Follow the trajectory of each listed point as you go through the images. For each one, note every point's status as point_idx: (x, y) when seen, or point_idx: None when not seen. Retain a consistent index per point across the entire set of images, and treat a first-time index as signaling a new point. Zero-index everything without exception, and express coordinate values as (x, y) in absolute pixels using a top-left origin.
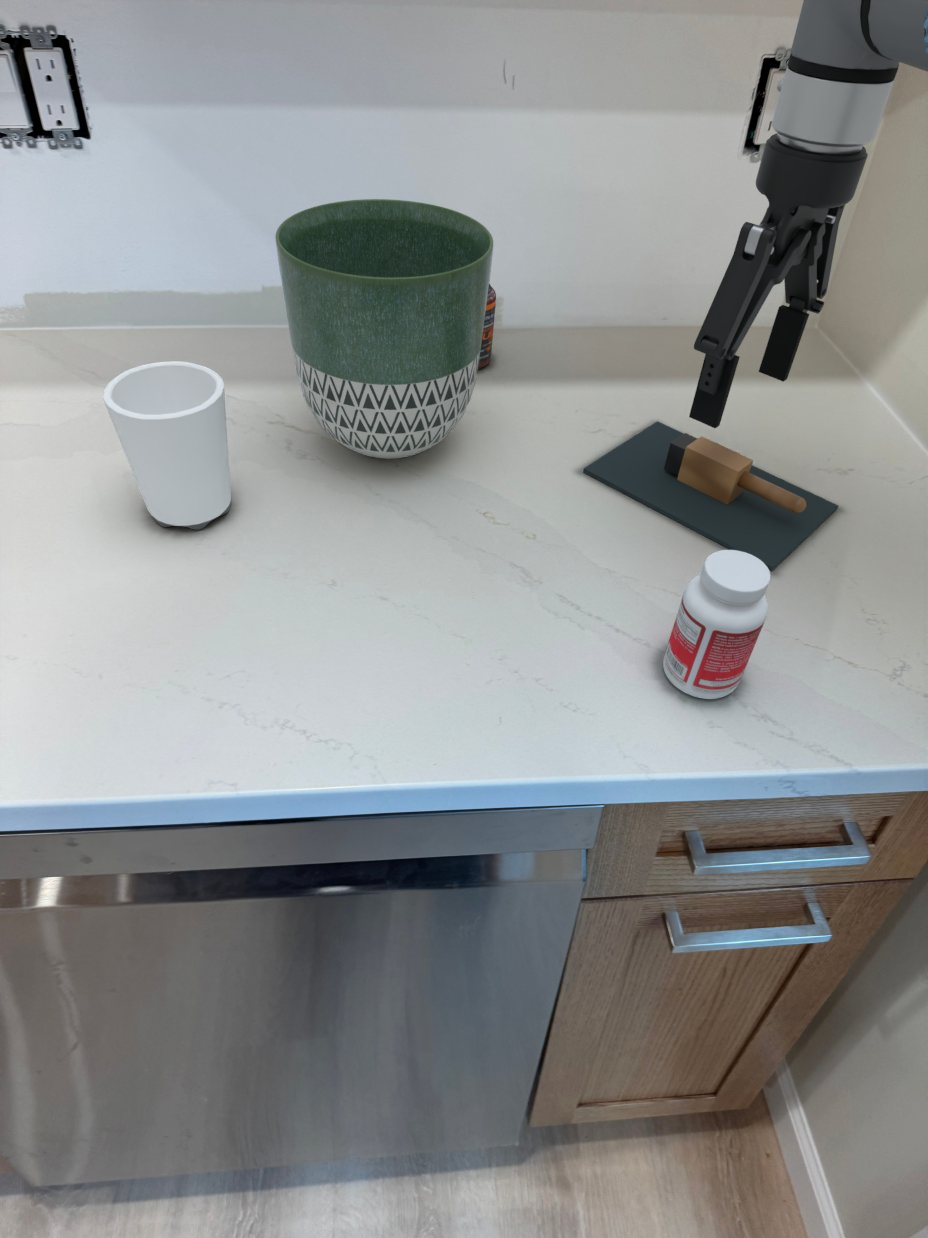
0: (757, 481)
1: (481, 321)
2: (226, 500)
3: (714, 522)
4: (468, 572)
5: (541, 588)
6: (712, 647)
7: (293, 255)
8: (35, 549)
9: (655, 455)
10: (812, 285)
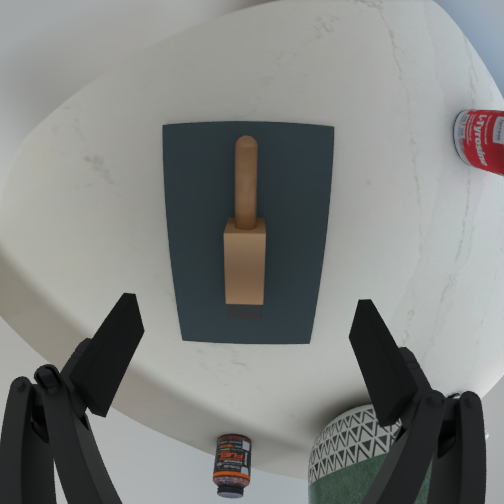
0: (250, 207)
1: (372, 482)
2: None
3: (306, 212)
4: (455, 311)
5: (454, 272)
6: None
7: None
8: None
9: None
10: (66, 443)
